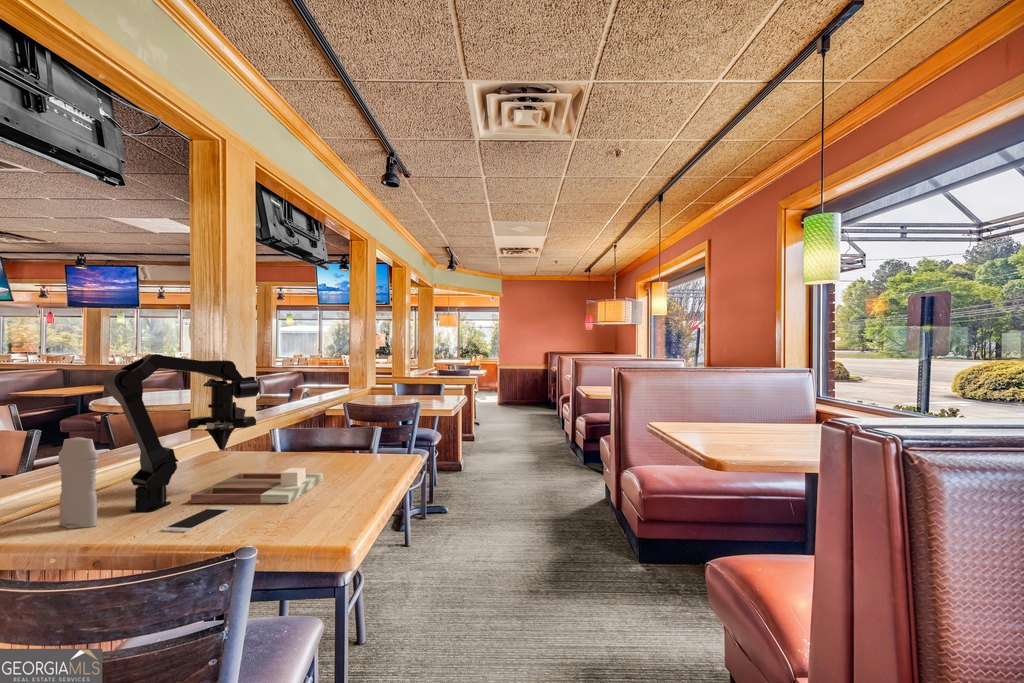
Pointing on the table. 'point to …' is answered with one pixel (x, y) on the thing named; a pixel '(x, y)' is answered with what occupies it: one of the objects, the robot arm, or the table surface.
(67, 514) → the tall pale column
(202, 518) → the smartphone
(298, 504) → the table surface
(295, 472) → the block
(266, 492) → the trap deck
